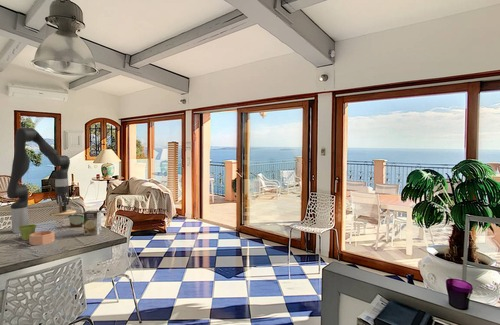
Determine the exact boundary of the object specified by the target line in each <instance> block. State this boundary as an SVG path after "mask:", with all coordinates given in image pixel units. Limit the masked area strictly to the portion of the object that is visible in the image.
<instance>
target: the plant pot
mask: <svg viewBox="0 0 500 325" xmlns="http://www.w3.org/2000/svg"><path fill="white" fill-rule="evenodd" d="M37 226H38V225H37V224H28V225H24V226H21V227H19V229H20V232H21V233H20V236H21V240H22V241H27V240H29V235H30V234H32V233H35V232H36V228H37Z"/></svg>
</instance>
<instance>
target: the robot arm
mask: <svg viewBox="0 0 500 325" xmlns="http://www.w3.org/2000/svg"><path fill="white" fill-rule="evenodd" d="M14 141H15V142H14V152H13V153H14V154H13V158H12V159H13V160H12V165H11V173H10V178H9V182H8V186H7V189H6V195H7V198H8V199H9V200H14V199H18V200H16V201H15V202H12V204H11V205H10V214H11V233H13V234H21V232H20V229H19V227H21V226H24V225H29V214H28V213H29V211H28V210H29V209H28V203H29V189H28V187H27V185H25V184H19V182H20V180H21V179H22V177H23V176H25V174H26V173H27V172H28V171H29V169H30V163H31V159H30V156H29V155H28V153H27V151H26V143H27V142H32V143H35V144H36V145H38V149H39V151H40V153H42V154H43V156H44V157H46V158H48V161H49V162H50V163H51V164H52V165H53V166H54V167H59V169H57V170H55V173H54V177H55V178H54V179H55V181H54V188H55V190H54V191H55V193H56V194H57V195H54V197H55V201H56V203H57V205H59V203H62V211H66V209H67V205H69V203H70V199H71V197H70V196H68V193H69V188H70V187H69V176H68V171H69V168H70V164H71V160H70V158H69V156H68V155H59V152H58V150H57V149H56V148H54V147H53V146H52V145H51V144H49V143H48V142H47V141H46V140H45V139H44V138H43V136H42V135H41V134H40V133H39V132H38V131H37V130H36V129H34V128H33V127H21V128H20V127H19V128H18V129H16V131H15V140H14Z"/></svg>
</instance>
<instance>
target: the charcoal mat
mask: <svg viewBox="0 0 500 325" xmlns="http://www.w3.org/2000/svg"><path fill="white" fill-rule="evenodd" d="M54 233H55V240H59V241H60V240H65V239H68V238H72V237H76V236H78V235H82V234H83V235H84V231H79V230H75V229H68V230H65V231H60V232H54Z"/></svg>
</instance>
